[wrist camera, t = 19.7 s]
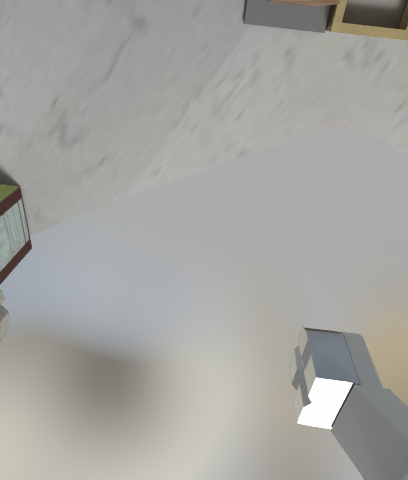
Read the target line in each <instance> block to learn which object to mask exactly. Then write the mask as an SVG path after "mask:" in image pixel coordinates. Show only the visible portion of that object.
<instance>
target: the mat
mask: <svg viewBox="0 0 408 480" xmlns="http://www.w3.org/2000/svg"><path fill="white" fill-rule="evenodd" d="M330 8H331V5H322V6H310V7H309V6H300V5H292V4H283V3H274V2H268V0H247V5H246V12H245V20H244V24H253V25H262V26H270V27H279V28H287V29H296V30H305V31H313V32H322V33H325V29H326V25H327V21H328V17H329V12H330Z"/></svg>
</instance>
